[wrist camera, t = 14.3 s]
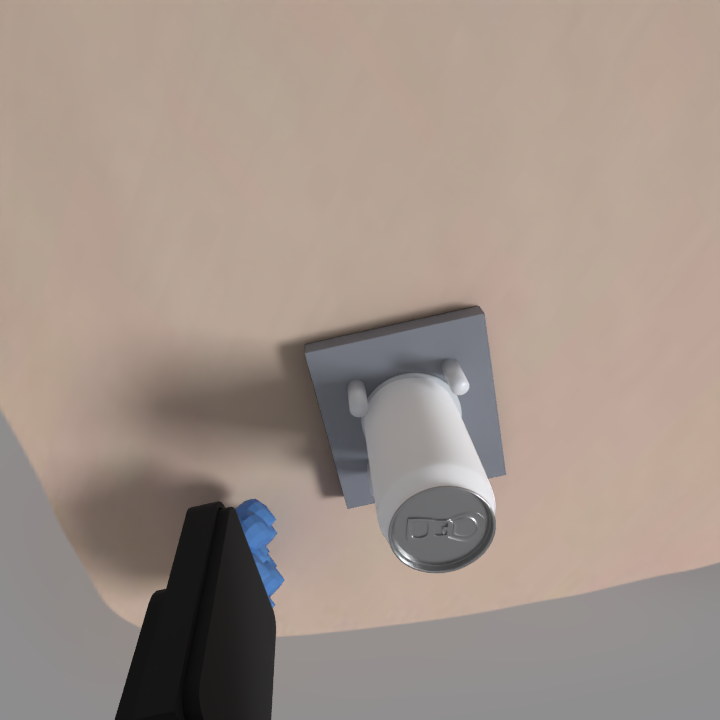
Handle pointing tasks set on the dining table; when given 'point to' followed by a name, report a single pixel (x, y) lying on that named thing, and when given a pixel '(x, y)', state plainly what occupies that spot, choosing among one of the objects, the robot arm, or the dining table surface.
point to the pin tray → (398, 361)
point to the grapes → (260, 541)
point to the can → (427, 478)
